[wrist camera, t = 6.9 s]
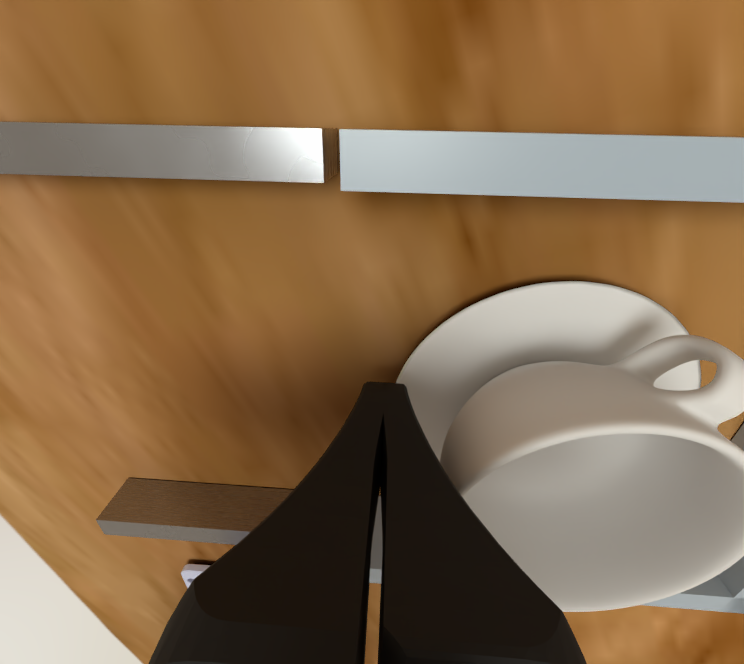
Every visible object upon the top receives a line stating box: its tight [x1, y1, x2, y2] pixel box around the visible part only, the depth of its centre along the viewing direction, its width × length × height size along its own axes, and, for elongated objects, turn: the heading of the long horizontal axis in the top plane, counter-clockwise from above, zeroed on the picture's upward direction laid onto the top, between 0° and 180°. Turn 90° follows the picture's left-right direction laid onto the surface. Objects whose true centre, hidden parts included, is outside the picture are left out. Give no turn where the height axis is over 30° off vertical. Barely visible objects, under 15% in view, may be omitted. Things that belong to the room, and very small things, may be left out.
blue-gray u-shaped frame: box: [339, 129, 744, 613], centre depth 11 cm, size 15×14×3 cm
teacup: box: [396, 281, 744, 612], centre depth 11 cm, size 10×10×5 cm
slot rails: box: [0, 122, 338, 545], centre depth 12 cm, size 15×10×2 cm, turn 179°
